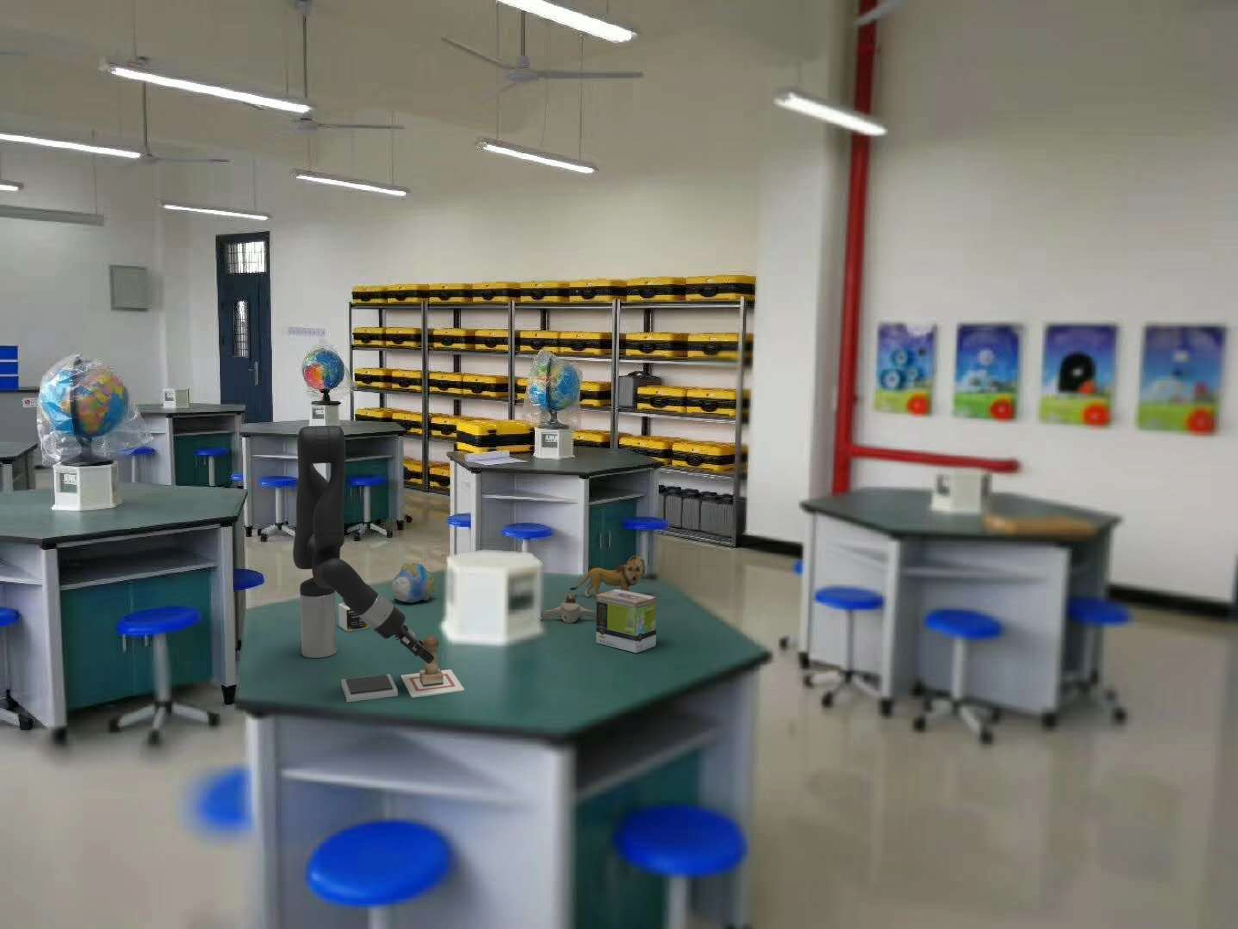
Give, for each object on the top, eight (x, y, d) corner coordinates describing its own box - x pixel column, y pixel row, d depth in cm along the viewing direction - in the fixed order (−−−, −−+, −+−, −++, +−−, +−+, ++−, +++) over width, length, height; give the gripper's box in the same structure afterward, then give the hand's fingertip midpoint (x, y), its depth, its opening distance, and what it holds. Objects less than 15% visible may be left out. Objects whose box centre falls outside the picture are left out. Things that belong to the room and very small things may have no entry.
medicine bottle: (347, 632, 287) (346, 592, 285) (338, 626, 292) (337, 587, 291) (370, 628, 291) (369, 589, 289) (361, 622, 296) (360, 584, 295)
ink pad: (341, 685, 242) (341, 678, 241) (390, 680, 246) (389, 672, 246) (347, 702, 231) (346, 694, 230) (397, 696, 235) (397, 688, 235)
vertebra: (602, 608, 309) (603, 583, 304) (603, 630, 300) (603, 605, 295) (539, 608, 309) (538, 584, 304) (537, 630, 300) (536, 605, 294)
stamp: (419, 680, 245) (419, 634, 243) (439, 678, 247) (438, 632, 245) (423, 687, 240) (422, 640, 239) (443, 684, 242) (442, 638, 241)
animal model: (642, 603, 323) (643, 559, 321) (567, 598, 327) (567, 555, 325) (646, 596, 332) (647, 553, 330) (573, 592, 336) (573, 550, 334)
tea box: (657, 646, 277) (658, 596, 275) (635, 654, 269) (636, 603, 267) (616, 635, 286) (617, 587, 284) (594, 643, 278) (595, 593, 276)
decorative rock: (396, 561, 313) (439, 559, 320) (384, 566, 326) (425, 564, 333) (398, 603, 311) (441, 599, 318) (386, 606, 324) (428, 602, 331)
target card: (401, 676, 249) (400, 675, 249) (450, 671, 253) (450, 669, 253) (411, 697, 234) (411, 695, 234) (464, 691, 239) (464, 689, 239)
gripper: (397, 612, 231) (444, 652, 237) (387, 597, 244) (433, 636, 250) (374, 635, 230) (423, 676, 236) (366, 619, 243) (413, 658, 249)
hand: (428, 655), depth 243 cm, fingers open, 8 cm apart
